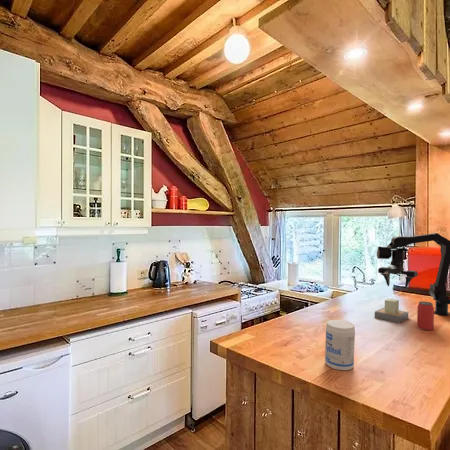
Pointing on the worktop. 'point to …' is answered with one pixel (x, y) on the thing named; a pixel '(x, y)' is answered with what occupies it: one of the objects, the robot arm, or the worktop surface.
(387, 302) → the cream block
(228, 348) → the worktop surface
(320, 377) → the worktop surface
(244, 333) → the worktop surface
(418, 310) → the beer can
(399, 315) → the slate base
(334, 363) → the supplement tub
